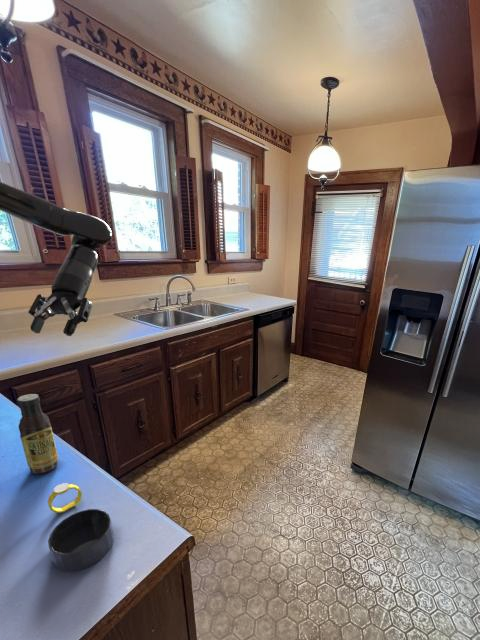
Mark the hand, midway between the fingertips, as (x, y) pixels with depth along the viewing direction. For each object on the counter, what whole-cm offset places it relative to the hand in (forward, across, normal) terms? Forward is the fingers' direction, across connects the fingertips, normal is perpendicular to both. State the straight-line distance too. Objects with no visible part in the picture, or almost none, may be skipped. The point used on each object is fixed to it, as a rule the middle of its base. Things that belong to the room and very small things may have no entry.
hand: (50, 333), depth 78 cm
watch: (+39, +14, +7) cm, 42 cm away
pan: (+45, +24, +1) cm, 51 cm away
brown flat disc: (+31, 0, +15) cm, 35 cm away
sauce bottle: (+31, 0, +15) cm, 34 cm away
